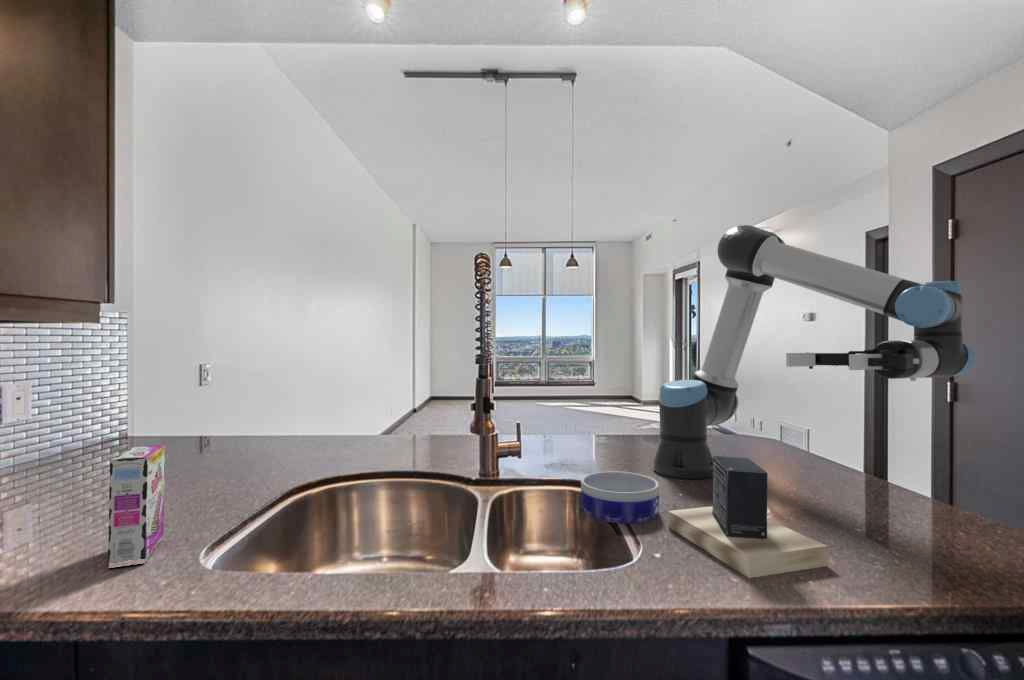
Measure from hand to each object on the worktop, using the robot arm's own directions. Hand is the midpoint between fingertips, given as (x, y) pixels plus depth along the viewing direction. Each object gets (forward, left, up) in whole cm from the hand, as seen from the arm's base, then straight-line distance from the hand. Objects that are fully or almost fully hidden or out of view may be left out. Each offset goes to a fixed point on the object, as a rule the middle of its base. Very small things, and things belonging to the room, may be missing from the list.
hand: (816, 360), depth 92 cm
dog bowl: (-16, -33, -30) cm, 47 cm away
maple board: (+5, -22, -30) cm, 37 cm away
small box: (+5, -22, -27) cm, 35 cm away
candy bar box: (-19, -117, -30) cm, 122 cm away
